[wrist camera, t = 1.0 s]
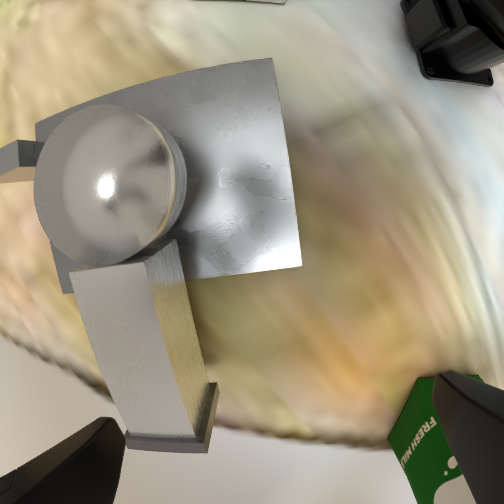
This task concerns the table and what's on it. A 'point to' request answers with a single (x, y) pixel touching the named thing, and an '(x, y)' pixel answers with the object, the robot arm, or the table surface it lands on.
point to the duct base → (207, 167)
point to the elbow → (129, 269)
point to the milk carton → (428, 451)
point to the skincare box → (273, 0)
